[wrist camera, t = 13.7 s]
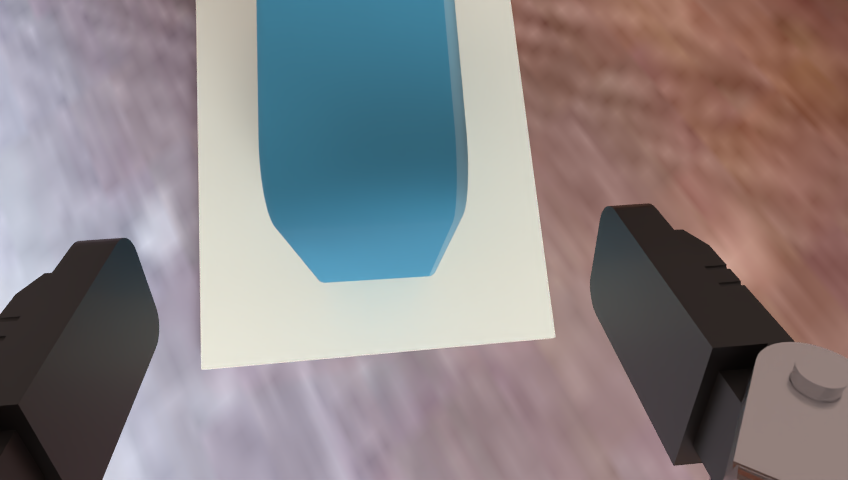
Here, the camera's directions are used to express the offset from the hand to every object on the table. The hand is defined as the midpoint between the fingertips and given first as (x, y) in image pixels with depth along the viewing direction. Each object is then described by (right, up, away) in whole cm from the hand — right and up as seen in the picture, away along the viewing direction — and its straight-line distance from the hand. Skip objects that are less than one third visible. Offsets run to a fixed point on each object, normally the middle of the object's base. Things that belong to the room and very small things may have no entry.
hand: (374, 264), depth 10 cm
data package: (-1, +4, +15) cm, 16 cm away
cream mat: (-2, +5, +16) cm, 17 cm away
